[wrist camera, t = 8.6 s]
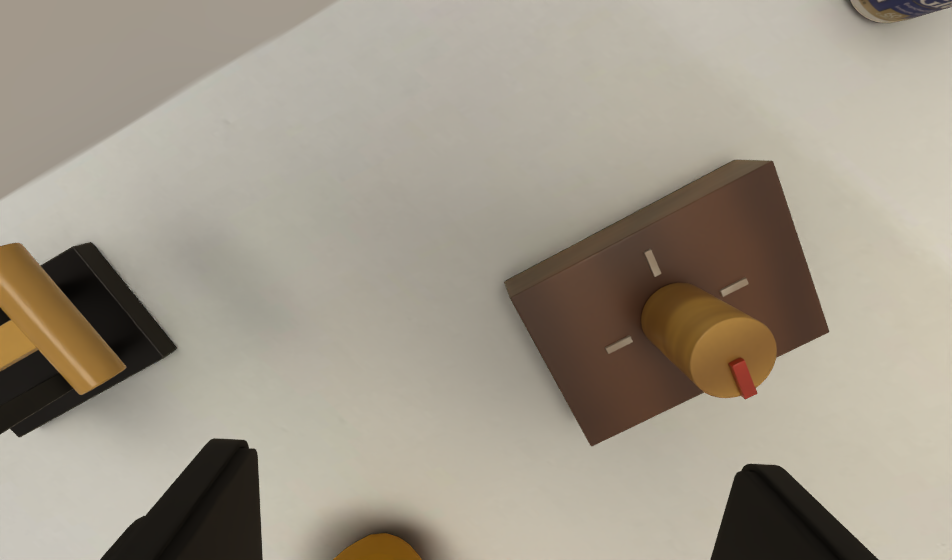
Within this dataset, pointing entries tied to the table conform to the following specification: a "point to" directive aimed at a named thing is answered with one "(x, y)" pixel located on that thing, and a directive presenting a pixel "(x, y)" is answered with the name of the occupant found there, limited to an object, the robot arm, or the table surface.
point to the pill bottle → (898, 9)
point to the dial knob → (709, 340)
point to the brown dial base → (657, 265)
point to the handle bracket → (109, 312)
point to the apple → (379, 549)
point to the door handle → (49, 324)
